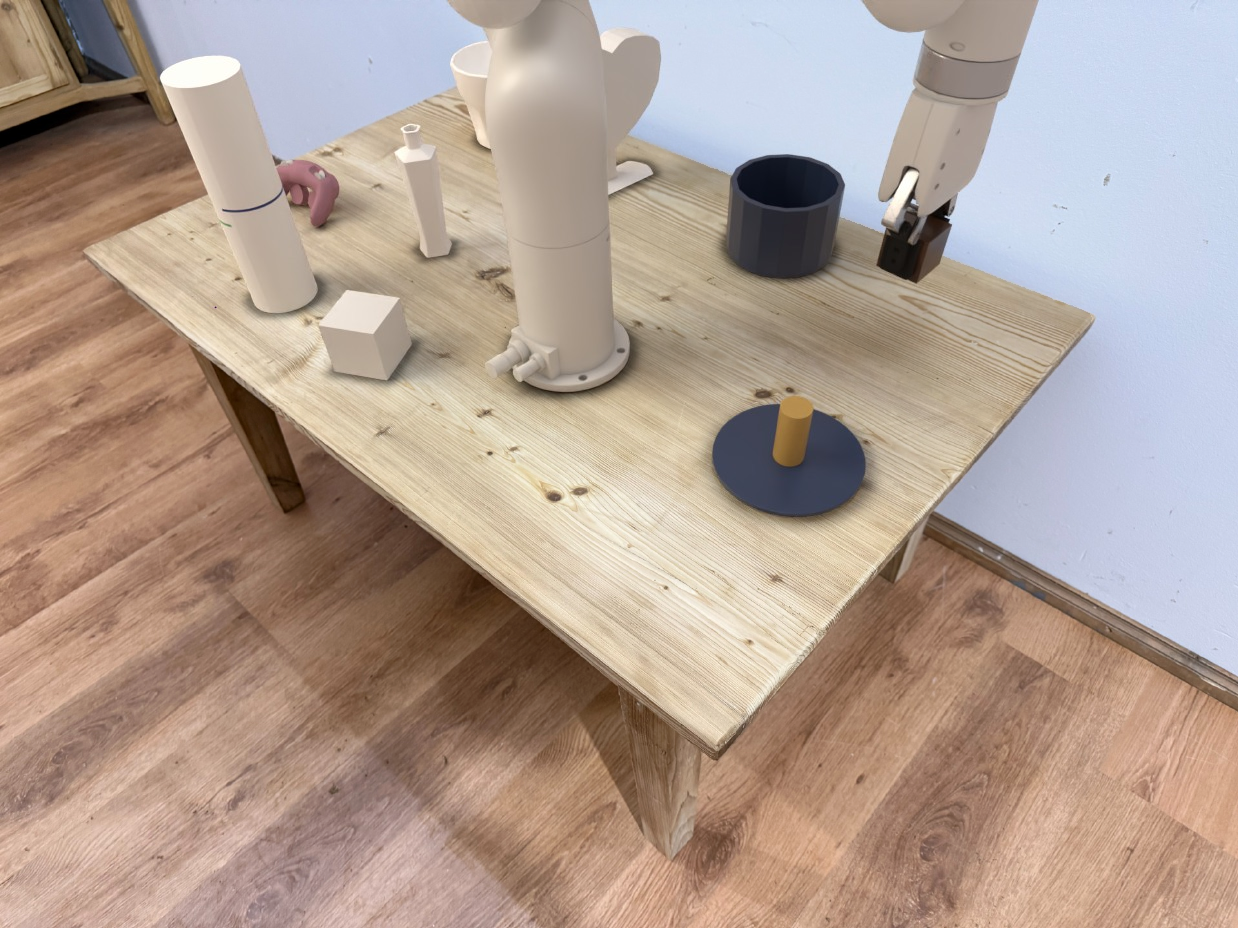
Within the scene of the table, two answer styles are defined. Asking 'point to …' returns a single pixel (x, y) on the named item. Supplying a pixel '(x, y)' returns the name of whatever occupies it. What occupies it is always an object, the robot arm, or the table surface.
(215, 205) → the cylindrical container
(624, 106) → the heart sculpture
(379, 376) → the white cube
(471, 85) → the cup
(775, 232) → the tin
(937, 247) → the block
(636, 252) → the table surface
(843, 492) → the lid
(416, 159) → the perfume bottle
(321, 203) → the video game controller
